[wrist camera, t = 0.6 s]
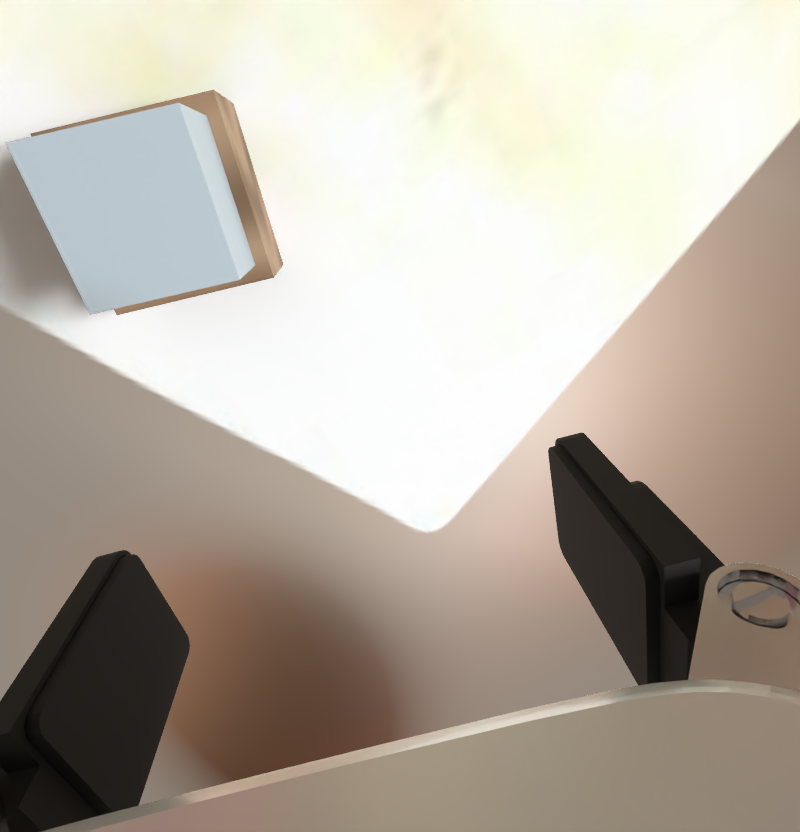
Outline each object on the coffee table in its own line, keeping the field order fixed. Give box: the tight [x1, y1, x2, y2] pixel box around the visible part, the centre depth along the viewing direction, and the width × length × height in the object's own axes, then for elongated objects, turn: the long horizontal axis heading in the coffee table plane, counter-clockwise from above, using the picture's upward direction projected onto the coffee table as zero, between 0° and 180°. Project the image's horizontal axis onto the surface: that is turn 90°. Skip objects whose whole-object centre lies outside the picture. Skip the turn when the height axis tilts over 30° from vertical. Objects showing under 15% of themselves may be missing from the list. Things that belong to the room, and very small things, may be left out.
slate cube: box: [6, 103, 255, 315], centre depth 26 cm, size 8×8×5 cm
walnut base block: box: [31, 90, 283, 315], centre depth 31 cm, size 10×10×6 cm
